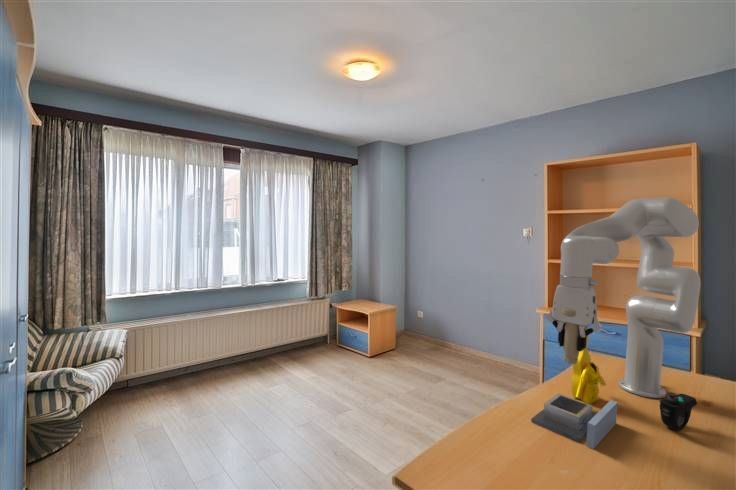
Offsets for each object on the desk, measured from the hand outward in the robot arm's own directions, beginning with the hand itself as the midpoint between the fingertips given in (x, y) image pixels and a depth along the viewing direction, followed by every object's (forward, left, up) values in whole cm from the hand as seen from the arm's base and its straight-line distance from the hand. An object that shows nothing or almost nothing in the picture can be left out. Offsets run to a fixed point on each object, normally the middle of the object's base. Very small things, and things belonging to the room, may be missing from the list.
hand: (571, 347), depth 99 cm
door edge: (0, +8, -21) cm, 23 cm away
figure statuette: (-18, -2, -21) cm, 28 cm away
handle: (0, 0, -4) cm, 4 cm away
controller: (-20, +20, -21) cm, 36 cm away
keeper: (0, 0, -21) cm, 21 cm away
